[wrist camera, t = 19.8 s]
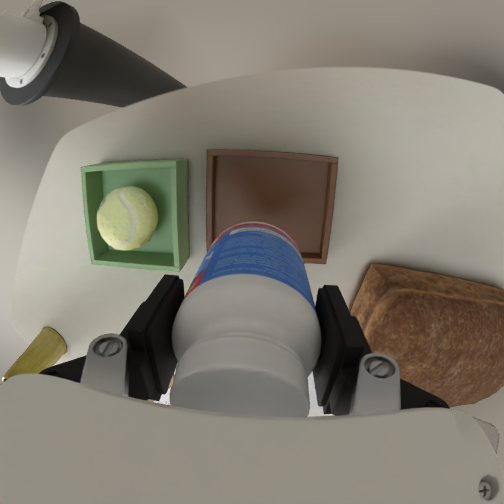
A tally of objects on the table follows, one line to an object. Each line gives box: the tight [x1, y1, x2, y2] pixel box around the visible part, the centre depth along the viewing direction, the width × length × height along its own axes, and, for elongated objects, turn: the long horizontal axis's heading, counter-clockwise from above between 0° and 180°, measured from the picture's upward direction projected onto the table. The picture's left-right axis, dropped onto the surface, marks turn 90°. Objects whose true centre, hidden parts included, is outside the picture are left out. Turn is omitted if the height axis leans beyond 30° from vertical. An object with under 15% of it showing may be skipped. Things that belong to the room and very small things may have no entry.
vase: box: [2, 327, 66, 382], centre depth 33 cm, size 6×6×14 cm
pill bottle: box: [170, 222, 322, 417], centre depth 11 cm, size 6×5×10 cm
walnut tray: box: [206, 149, 338, 264], centre depth 28 cm, size 11×13×2 cm
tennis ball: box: [97, 186, 158, 251], centre depth 26 cm, size 6×7×7 cm
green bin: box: [81, 159, 189, 272], centre depth 28 cm, size 11×11×4 cm
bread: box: [350, 264, 504, 408], centre depth 28 cm, size 17×30×13 cm, turn 80°
